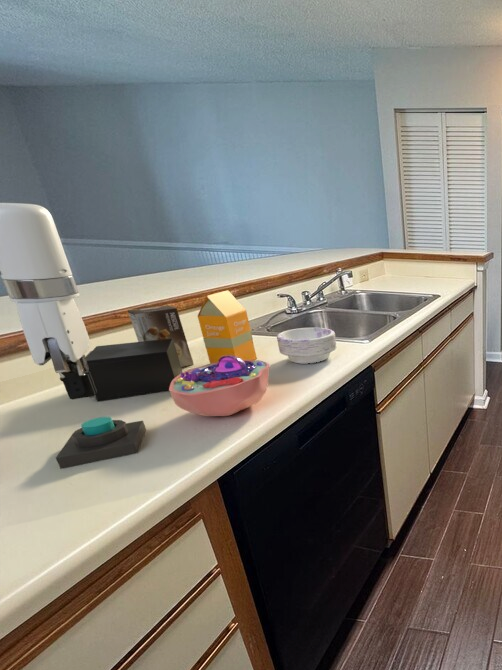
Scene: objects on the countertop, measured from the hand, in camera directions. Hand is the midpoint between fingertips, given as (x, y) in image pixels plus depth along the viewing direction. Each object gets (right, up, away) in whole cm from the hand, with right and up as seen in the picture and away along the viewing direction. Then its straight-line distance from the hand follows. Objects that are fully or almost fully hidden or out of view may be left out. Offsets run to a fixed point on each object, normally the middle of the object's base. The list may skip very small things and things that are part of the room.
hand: (83, 396), depth 73 cm
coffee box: (-20, +7, +43) cm, 48 cm away
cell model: (+12, -4, +20) cm, 23 cm away
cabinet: (-16, +1, +30) cm, 34 cm away
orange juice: (-5, +8, +47) cm, 48 cm away
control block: (0, -10, +4) cm, 10 cm away
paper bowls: (+14, +9, +52) cm, 54 cm away
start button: (0, -6, +3) cm, 7 cm away
